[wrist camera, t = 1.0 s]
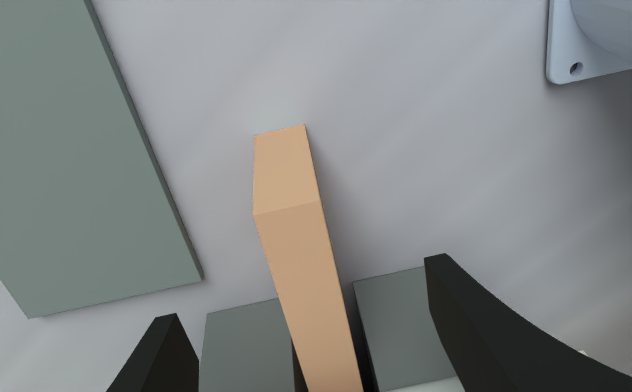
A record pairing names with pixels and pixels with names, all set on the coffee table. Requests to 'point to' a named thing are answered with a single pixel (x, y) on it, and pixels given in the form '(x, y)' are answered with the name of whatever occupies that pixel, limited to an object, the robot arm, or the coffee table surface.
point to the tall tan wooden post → (303, 259)
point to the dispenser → (378, 329)
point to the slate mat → (77, 170)
